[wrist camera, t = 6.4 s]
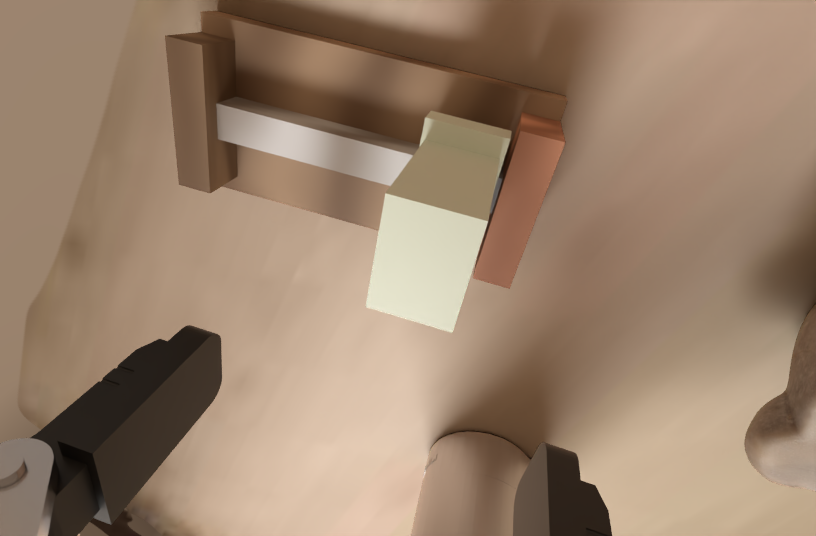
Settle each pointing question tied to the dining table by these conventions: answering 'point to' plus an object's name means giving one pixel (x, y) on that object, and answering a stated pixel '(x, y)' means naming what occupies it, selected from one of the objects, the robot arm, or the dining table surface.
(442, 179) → the slider
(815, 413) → the mortar
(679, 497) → the dining table surface
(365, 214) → the track
